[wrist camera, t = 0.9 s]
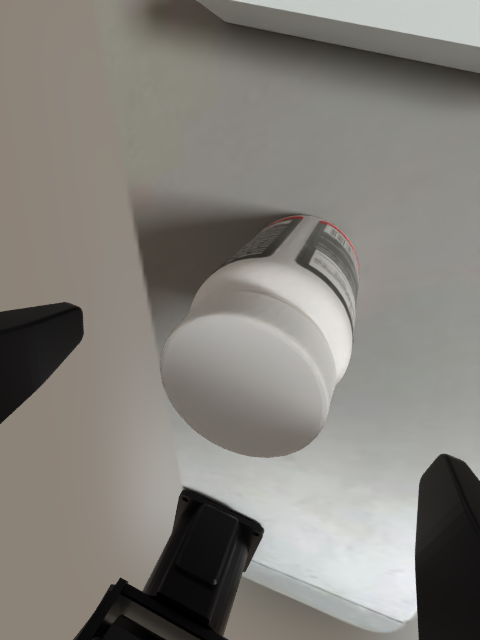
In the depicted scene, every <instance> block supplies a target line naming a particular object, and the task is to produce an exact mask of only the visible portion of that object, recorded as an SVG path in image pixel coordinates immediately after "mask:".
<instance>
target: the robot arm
mask: <svg viewBox="0 0 480 640" xmlns="http://www.w3.org/2000/svg"><path fill="white" fill-rule="evenodd" d="M83 334H84V331H83V313H82V310H81V308H80V307H77V306H75V305H73V304H70V303H67V302H63V303H56V304H49V305H43V306H36V307H30V308H23V309H16V310H9V311H3V312H0V424H1V423H2V422H3V421H4V420H5V419H6V418H7V417H8V416H9V415H10V414H12V412H14V411H15V410H16V409H17V408H18V407H19V406H20V405H21V404H22V403H23V402H24V401H26V400H27V399H28V398H29V397H30V396H31V395H32V394H33V393H34V392H35V391H36V390H37V389H38V388H39V387H40V386H41V385H42V384H43V383H44V382H45V381H46V380H47V379H48V378H49V377H50V375H52V373H53V372H54V371H55V370H56V369H57V368H58V367H59V366H60V364H61V363H62V362H63V361H64V360H65V359H66V358H67V356H68V355H69V354H70V353H71V352H72V351H73V350H74V349H75V347H76V346H77V345H78V344H79V343H80V341H81V340H82V337H83ZM263 533H264V529H263V528H262V527H261V526H260V525H258V524H256V523H254V522H252V521H250V520H248V519H246V518H244V517H242V516H240V515H238V514H235V513H233V512H231V511H229V510H227V509H225V508H223V507H221V506H219V505H217V504H215V503H213V502H211V501H209V500H206V499H204V498H202V497H200V496H198V495H196V494H194V493H192V492H190V491H188V490H182V492H181V494H180V496H179V501H178V505H177V510H176V515H175V521H174V526H173V531H172V534H171V536H170V538H169V541H168V542H167V544H166V546H165V548H164V550H163V552H162V554H161V556H160V558H159V560H158V562H157V564H156V566H155V568H154V570H153V572H152V574H151V576H150V578H149V579H148V582H147V584H146V585H145V587H144V590H143V591H140V590H138V589H136V588H135V587H133V586H131V585H129V584H128V582H127V581H126V580H124V579H122V578H120V579H119V581H118V582H117V583H116V585H113V584H112V585H110V587H109V589H108V591H107V592H106V594H105V596H104V597H103V599H102V601H101V603H100V604H99V606H98V607H97V609H96V611H95V612H94V613H93V615H92V616H91V618H90V619H89V620H88V622H87V623H86V624H85V625H84V627H83V628H82V629H81V631H80V632H79V633H78V634H77V636H76V637H75V638H74V639H73V640H228V639H226V638H224V637H223V635H224V632H225V629H226V625H227V622H228V618H229V615H230V612H231V609H232V605H233V602H234V599H235V596H236V592H237V589H238V586H239V582H240V579H241V576H242V572H245V571H246V569H247V567H248V565H249V563H250V561H251V559H252V557H253V555H254V553H255V551H256V549H257V547H258V545H259V543H260V541H261V539H262V537H263ZM415 573H416V593H417V613H418V632H419V640H480V481H479V479H478V478H477V477H476V476H475V474H474V473H473V472H472V470H471V469H470V468H469V467H468V465H467V464H466V463H465V462H464V461H462V460H460V459H458V458H455V457H453V456H450V455H448V454H441V455H439V456H438V457H437V458H436V459H435V461H434V462H433V463H432V464H431V465H430V467H429V468H428V469H427V470H426V471H425V473H424V474H423V475H422V477H421V480H420V484H419V496H418V512H417V528H416V544H415Z"/></svg>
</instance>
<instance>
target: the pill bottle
mask: <svg viewBox="0 0 480 640" xmlns="http://www.w3.org/2000/svg"><path fill="white" fill-rule="evenodd" d="M358 284H359V263H358V258H357V255H356V252H355V250H354V247H353V245H352V243H351V242H350V240H349V239H348V238H347V236H346V235H345V234H344V233H343V232H342V231H341V230H340V229H338V228H337V227H336V226H334V225H333V224H331V223H329V222H327V221H325V220H323V219H320V218H317V217H313V216H306V215H296V216H289V217H285V218H282V219H280V220H277V221H275V222H273V223H271V224H270V225H268V226H267V227H265V228H264V229H263V230H262V231H261V232H259V233H258V234H257V235H256V236H255V237H254V238H253V239H251V240H250V241H249V242H248V243H247V244H246V245H245V246H243V247H242V248H241V249H240V250H239V251H238V252H237V253H235V254H234V255H233V256H232V257H231V258H230V259H228V260H227V261H226V262H225V263H224V264H223V265H222V266H221V267H219V268H218V269H217V270H216V271H214V272H213V273H212V274H211V275H210V276H209V278H208V279H207V280H206V281H205V282H204V283H203V285H202V286H201V287H200V289H199V290H198V292H197V293H196V295H195V297H194V300H193V302H192V305H191V308H190V311H189V314H188V315H187V316H186V317H185V318H184V319H183V320H182V322H181V323H180V324H179V325H178V326H177V327H176V328H175V329H174V330H173V331H172V333H171V334H170V335H169V337H168V339H167V341H166V342H165V345H164V347H163V350H162V354H161V361H160V371H161V378H162V383H163V386H164V389H165V391H166V393H167V396H168V398H169V400H170V401H171V403H172V405H173V407H174V408H175V410H176V411H177V412H178V414H179V415H180V416H181V417H182V418H183V419H184V420H185V421H186V423H187V424H188V425H189V426H191V427H192V428H193V429H194V430H195V431H196V432H198V433H199V434H200V435H202V436H203V437H204V438H206V439H207V440H209V441H211V442H212V443H214V444H216V445H218V446H220V447H222V448H224V449H227V450H230V451H232V452H235V453H238V454H242V455H247V456H252V457H279V456H284V455H288V454H291V453H294V452H296V451H299V450H301V449H303V448H304V447H306V446H307V445H309V444H310V443H311V442H312V441H313V440H314V439H315V438H316V437H317V436H318V434H319V433H320V431H321V430H322V428H323V426H324V424H325V421H326V419H327V415H328V412H329V407H330V402H331V397H332V395H333V392H334V388H335V386H336V385H337V384H338V382H339V381H340V380H341V379H342V377H343V375H344V373H345V371H346V369H347V366H348V364H349V360H350V356H351V351H352V346H353V333H354V323H355V313H356V301H357V292H358Z"/></svg>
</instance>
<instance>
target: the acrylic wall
mask: <svg viewBox="0 0 480 640" xmlns="http://www.w3.org/2000/svg"><path fill="white" fill-rule="evenodd" d="M196 1H198V2H199V3H200V4H202V5H203V6H204V7H206V8H207V9H209V10H210V11H211V12H213V13H214V14H215V15H217V16H218V17H219V18H221V19H222V20H223V21H225V22H228V23H233V24H238V25H243V26H247V27H252V28H257V29H262V30H267V31H272V32H277V33H282V34H287V35H292V36H297V37H302V38H307V39H312V40H317V41H322V42H327V43H332V44H337V45H342V46H347V47H352V48H357V49H362V50H367V51H372V52H376V53H381V54H386V55H391V56H396V57H401V58H406V59H411V60H416V61H421V62H426V63H431V64H436V65H441V66H446V67H451V68H456V69H461V70H466V71H471V72H476V73H480V0H196Z"/></svg>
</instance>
